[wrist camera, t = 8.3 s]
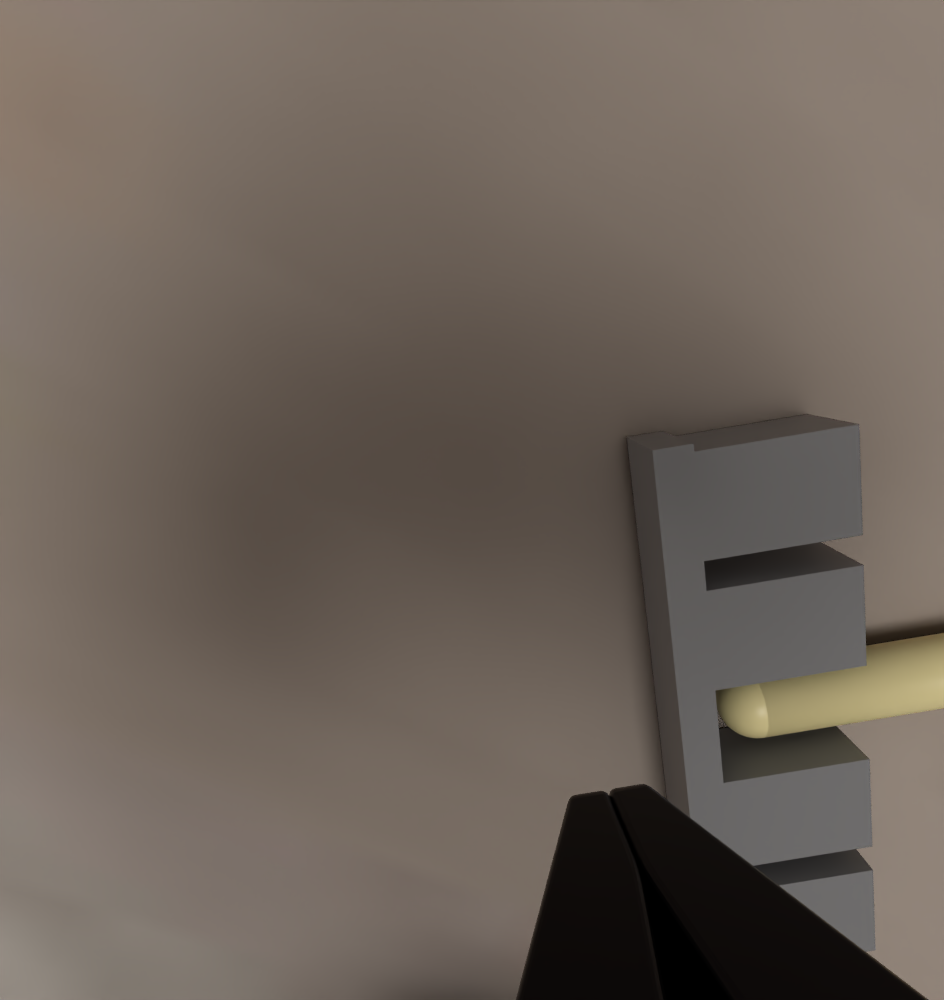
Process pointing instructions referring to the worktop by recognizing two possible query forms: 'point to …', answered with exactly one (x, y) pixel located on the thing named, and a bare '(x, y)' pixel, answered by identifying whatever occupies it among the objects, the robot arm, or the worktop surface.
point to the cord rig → (771, 650)
